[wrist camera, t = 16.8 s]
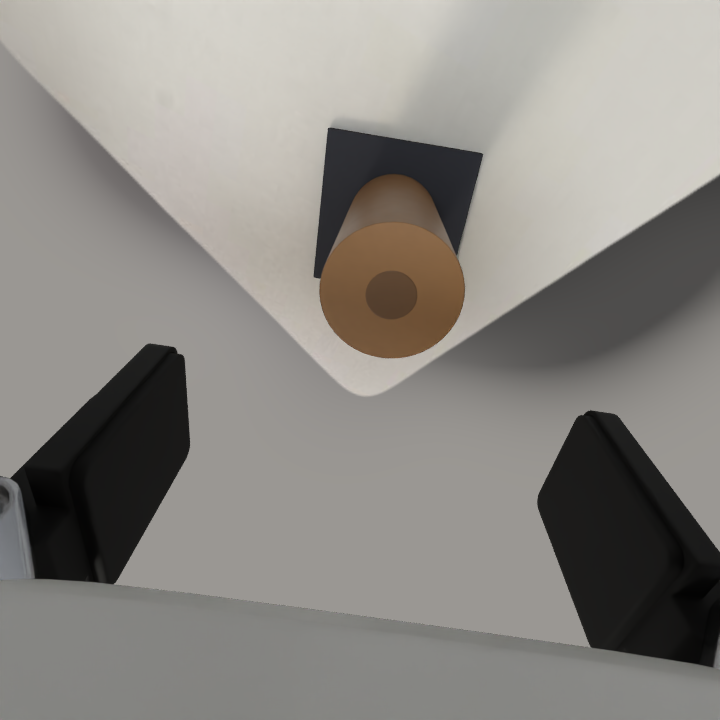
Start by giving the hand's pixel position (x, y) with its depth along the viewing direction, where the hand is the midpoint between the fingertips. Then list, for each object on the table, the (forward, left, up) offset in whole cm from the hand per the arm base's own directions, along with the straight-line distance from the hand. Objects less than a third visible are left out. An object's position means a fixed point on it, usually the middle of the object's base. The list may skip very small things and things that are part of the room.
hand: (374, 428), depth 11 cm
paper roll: (0, 0, -23) cm, 23 cm away
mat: (0, 0, -23) cm, 23 cm away
